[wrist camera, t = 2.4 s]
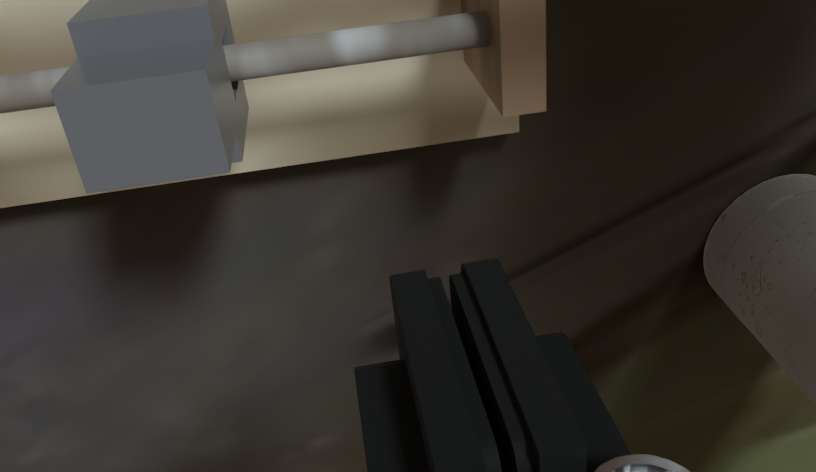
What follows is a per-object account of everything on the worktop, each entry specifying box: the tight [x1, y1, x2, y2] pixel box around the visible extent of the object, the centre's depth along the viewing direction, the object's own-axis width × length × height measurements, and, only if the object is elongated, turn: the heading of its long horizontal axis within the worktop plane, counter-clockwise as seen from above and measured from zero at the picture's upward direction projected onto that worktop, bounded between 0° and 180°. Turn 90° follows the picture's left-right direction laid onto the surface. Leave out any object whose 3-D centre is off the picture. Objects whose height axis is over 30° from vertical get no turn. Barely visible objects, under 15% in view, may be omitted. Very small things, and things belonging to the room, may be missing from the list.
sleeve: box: [50, 0, 249, 194], centre depth 24 cm, size 5×4×8 cm
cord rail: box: [0, 0, 546, 208], centre depth 26 cm, size 12×34×8 cm, turn 96°
